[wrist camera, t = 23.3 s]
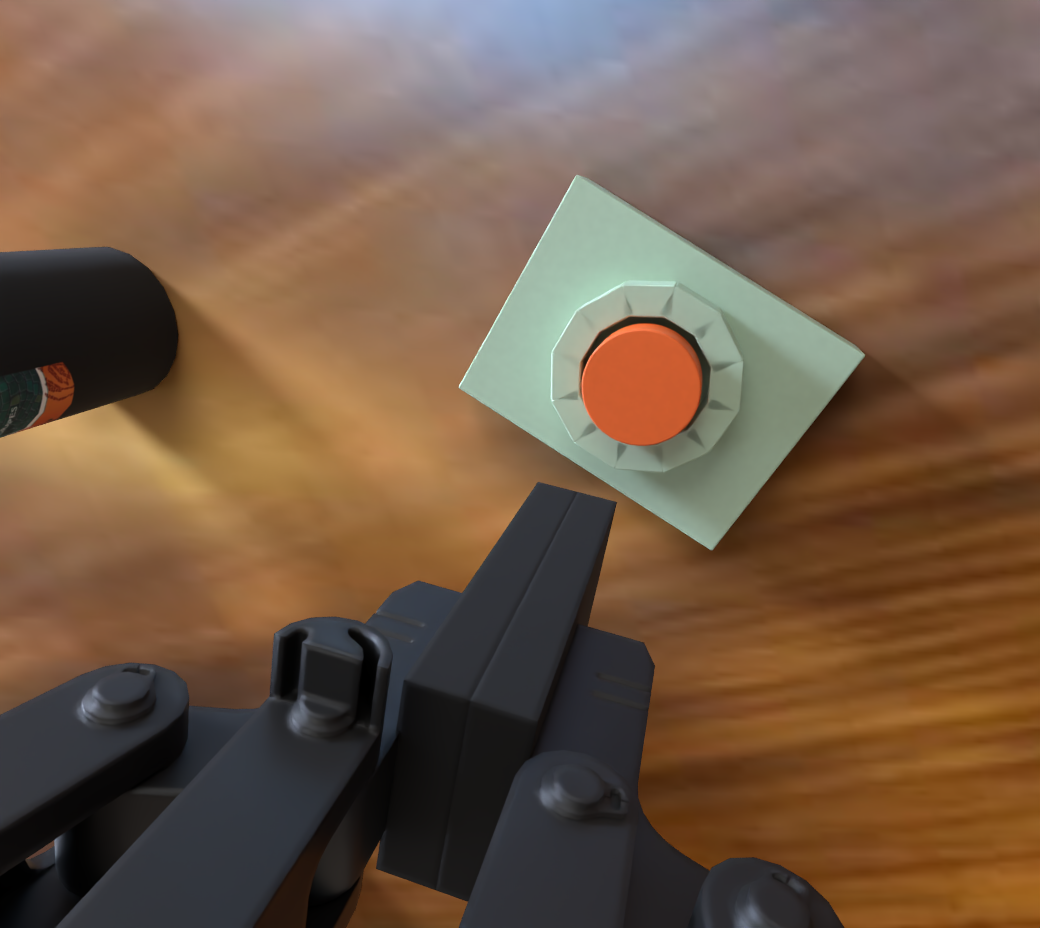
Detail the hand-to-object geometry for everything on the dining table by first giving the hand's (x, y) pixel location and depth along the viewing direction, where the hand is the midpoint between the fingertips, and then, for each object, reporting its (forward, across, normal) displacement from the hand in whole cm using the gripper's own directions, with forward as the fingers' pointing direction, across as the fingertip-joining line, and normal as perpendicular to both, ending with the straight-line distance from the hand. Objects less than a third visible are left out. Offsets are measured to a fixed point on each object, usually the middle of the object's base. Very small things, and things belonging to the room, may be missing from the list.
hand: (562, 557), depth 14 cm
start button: (+17, 0, 0) cm, 17 cm away
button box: (+20, 0, 0) cm, 20 cm away
